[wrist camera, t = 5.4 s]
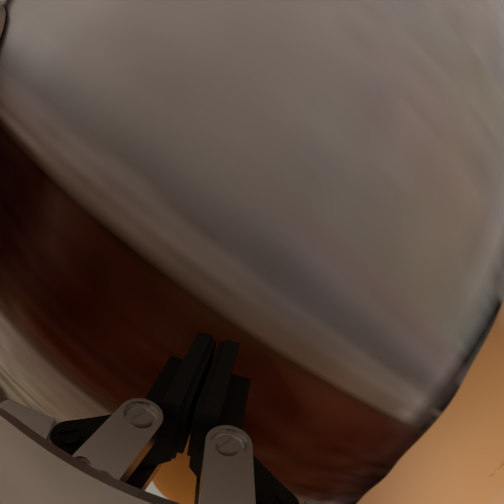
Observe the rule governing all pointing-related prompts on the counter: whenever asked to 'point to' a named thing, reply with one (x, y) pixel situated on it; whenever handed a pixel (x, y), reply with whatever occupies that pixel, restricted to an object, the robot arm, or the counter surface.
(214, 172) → the counter surface
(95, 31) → the counter surface
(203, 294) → the counter surface
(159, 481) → the ball
